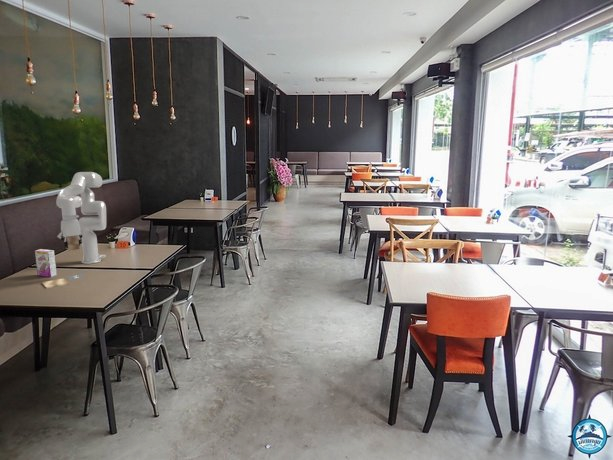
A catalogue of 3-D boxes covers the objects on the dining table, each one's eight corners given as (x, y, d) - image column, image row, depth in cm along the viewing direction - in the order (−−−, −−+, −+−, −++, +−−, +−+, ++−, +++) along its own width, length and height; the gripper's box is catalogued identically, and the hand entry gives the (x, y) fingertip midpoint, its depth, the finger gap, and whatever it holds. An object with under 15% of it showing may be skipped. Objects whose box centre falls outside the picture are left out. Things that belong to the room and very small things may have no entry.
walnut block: (76, 247, 296) (75, 234, 295) (79, 249, 292) (78, 236, 290) (66, 248, 293) (64, 236, 291) (68, 250, 288) (67, 237, 287)
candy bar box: (37, 276, 299) (34, 250, 295) (43, 273, 303) (40, 248, 300) (50, 277, 295) (47, 251, 292) (57, 275, 300) (54, 250, 296)
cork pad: (63, 279, 291) (63, 278, 291) (68, 284, 282) (68, 282, 281) (42, 283, 283) (41, 282, 283) (46, 288, 274) (46, 287, 274)
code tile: (81, 274, 302) (81, 273, 302) (85, 277, 295) (85, 277, 295) (66, 276, 296) (66, 276, 296) (69, 280, 290) (69, 279, 290)
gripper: (82, 215, 297) (85, 243, 300) (52, 218, 286) (55, 248, 290) (86, 217, 291) (89, 245, 295) (55, 220, 280) (58, 250, 284)
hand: (72, 246), depth 292 cm, fingers closed on walnut block, 6 cm apart
